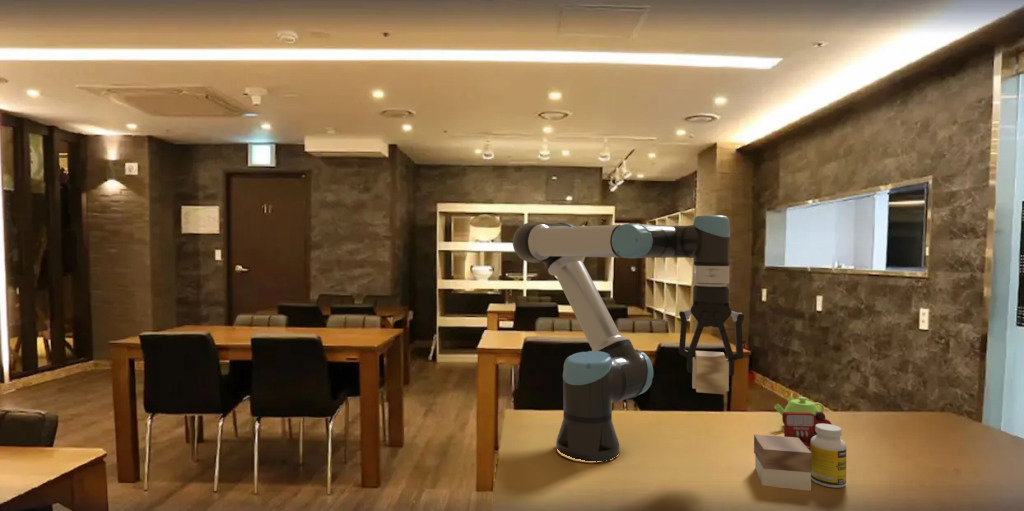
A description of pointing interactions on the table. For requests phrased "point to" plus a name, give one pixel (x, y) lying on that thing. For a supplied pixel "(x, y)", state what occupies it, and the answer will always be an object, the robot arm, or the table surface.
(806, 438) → the toy fire truck
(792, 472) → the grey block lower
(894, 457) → the table surface
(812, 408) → the teapot
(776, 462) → the walnut block upper
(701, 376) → the oak block
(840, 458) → the pill bottle
